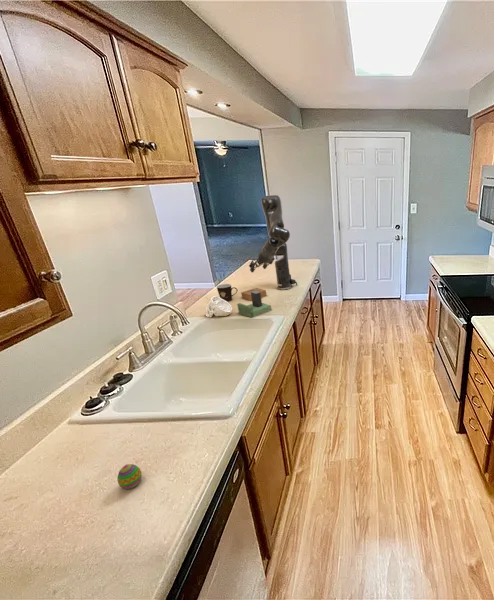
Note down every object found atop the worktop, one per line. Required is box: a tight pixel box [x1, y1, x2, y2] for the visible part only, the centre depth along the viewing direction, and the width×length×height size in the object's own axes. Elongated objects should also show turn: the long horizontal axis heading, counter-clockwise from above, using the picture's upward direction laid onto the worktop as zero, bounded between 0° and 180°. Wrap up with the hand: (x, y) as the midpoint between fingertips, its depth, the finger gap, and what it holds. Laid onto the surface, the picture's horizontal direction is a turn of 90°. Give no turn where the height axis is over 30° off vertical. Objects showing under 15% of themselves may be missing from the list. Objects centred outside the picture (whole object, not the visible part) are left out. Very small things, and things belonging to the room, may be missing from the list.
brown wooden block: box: [240, 287, 267, 302], centre depth 221 cm, size 12×10×4 cm
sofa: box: [236, 302, 272, 318], centre depth 196 cm, size 14×12×6 cm
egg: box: [117, 463, 143, 490], centre depth 85 cm, size 5×5×6 cm
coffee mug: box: [216, 283, 238, 303], centre depth 213 cm, size 12×9×10 cm
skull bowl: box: [204, 295, 234, 318], centre depth 191 cm, size 10×14×12 cm
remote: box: [251, 291, 263, 307], centre depth 196 cm, size 3×5×9 cm, turn 56°
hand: (257, 269), depth 194 cm, fingers open, 8 cm apart
